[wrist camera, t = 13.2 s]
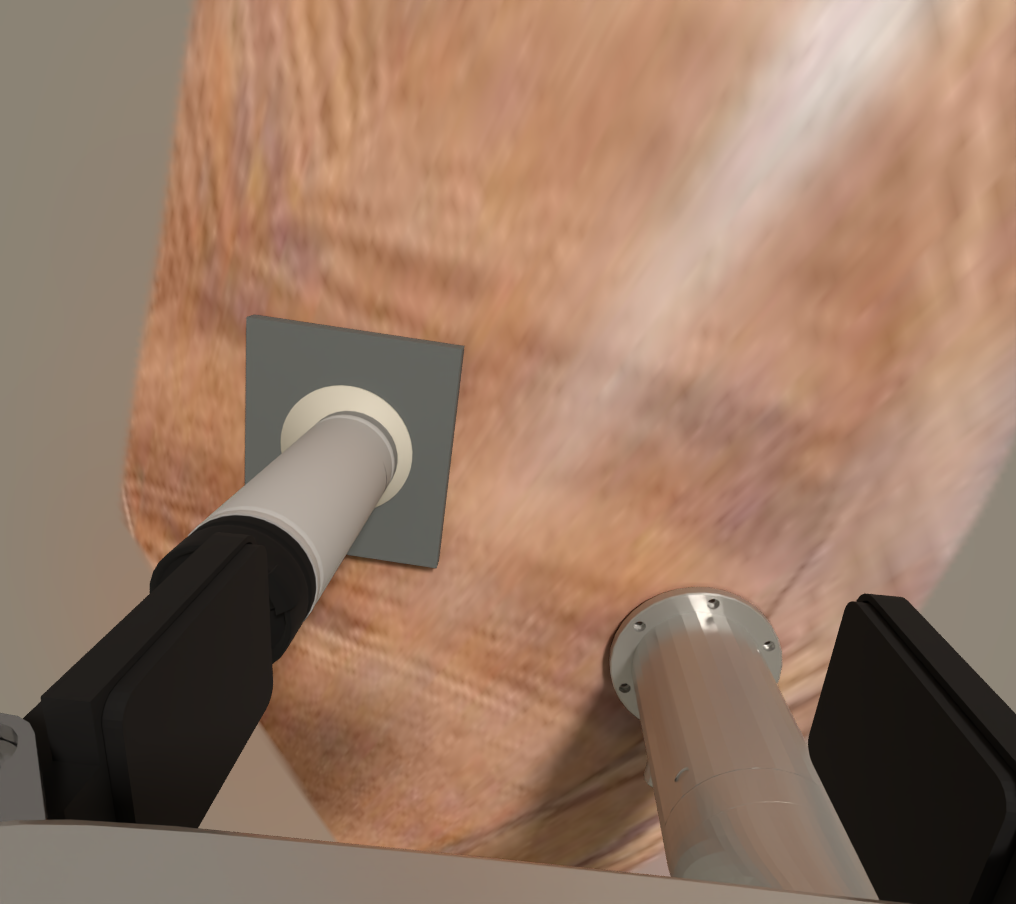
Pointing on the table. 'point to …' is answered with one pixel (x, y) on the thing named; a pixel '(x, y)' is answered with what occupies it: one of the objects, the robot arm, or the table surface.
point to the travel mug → (303, 513)
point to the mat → (366, 389)
